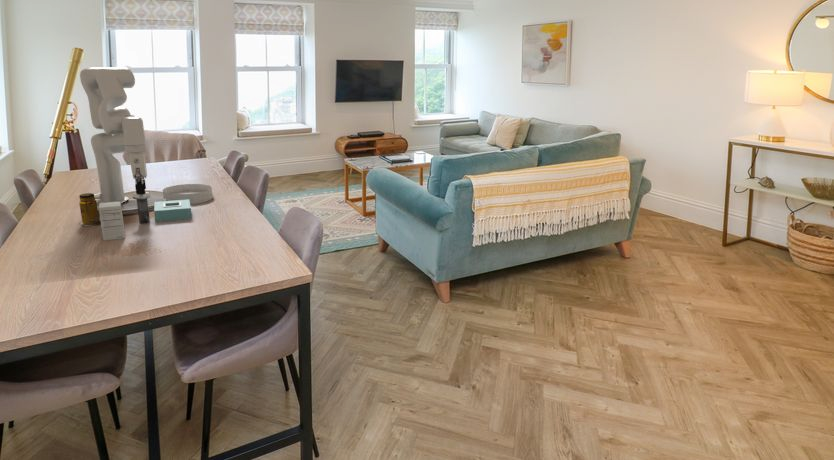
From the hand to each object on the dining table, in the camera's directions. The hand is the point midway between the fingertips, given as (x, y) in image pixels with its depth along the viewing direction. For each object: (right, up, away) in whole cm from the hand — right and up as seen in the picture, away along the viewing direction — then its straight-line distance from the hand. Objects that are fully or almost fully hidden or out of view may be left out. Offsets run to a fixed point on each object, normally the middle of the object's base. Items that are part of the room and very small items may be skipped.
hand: (141, 191), depth 236 cm
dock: (+7, -9, +15) cm, 19 cm away
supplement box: (-3, -18, -15) cm, 23 cm away
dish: (+2, -1, +44) cm, 44 cm away
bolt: (-1, -12, +4) cm, 13 cm away
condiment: (-20, -13, +2) cm, 24 cm away
